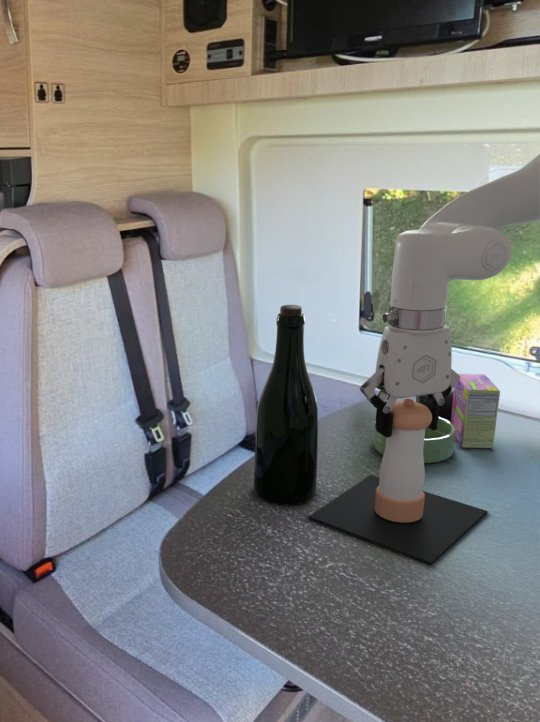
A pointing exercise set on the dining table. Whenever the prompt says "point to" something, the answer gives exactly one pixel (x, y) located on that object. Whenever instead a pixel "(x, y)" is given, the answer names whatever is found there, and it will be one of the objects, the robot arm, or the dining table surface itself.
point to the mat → (411, 539)
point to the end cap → (444, 409)
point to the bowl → (429, 442)
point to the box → (475, 410)
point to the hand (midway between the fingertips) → (406, 429)
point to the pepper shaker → (403, 464)
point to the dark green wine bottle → (287, 420)
